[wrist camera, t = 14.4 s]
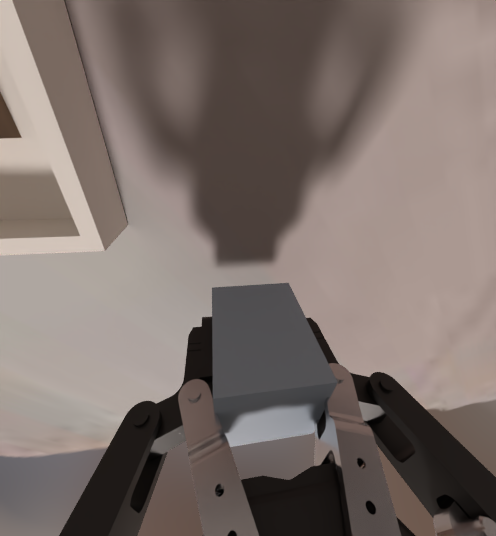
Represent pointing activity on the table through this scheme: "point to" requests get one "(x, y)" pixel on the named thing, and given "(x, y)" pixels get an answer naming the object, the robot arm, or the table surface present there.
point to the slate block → (266, 365)
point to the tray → (51, 140)
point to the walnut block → (7, 122)
